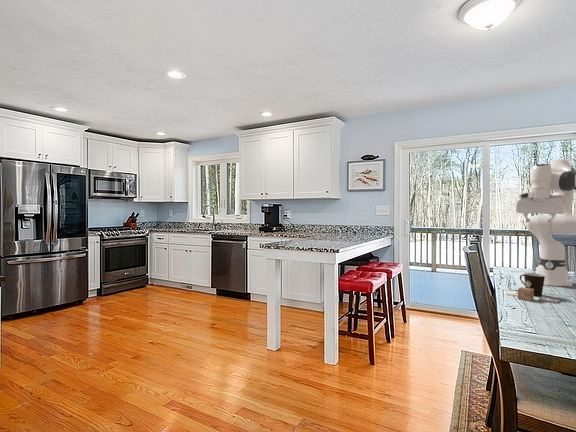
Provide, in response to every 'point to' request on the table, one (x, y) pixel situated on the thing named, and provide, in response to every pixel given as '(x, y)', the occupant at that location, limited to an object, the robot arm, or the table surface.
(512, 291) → the tile
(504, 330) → the table surface
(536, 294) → the coffee mug
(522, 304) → the table surface
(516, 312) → the table surface
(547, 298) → the tile
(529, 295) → the letter cube
